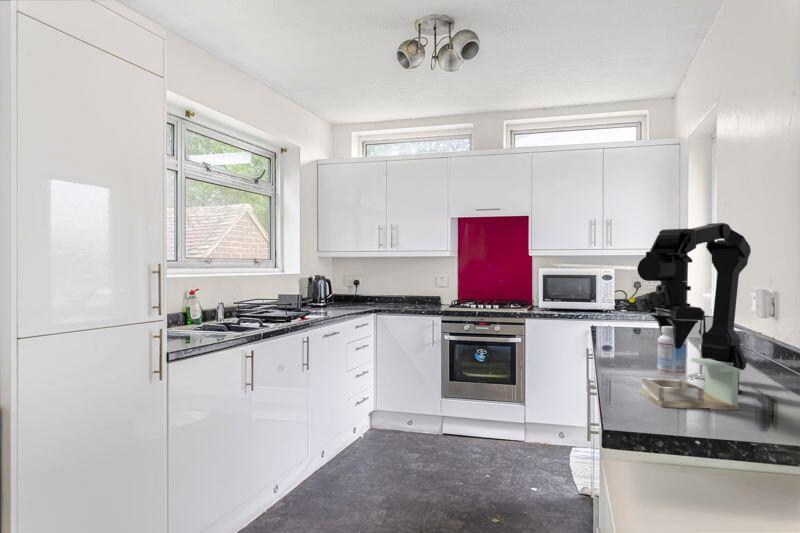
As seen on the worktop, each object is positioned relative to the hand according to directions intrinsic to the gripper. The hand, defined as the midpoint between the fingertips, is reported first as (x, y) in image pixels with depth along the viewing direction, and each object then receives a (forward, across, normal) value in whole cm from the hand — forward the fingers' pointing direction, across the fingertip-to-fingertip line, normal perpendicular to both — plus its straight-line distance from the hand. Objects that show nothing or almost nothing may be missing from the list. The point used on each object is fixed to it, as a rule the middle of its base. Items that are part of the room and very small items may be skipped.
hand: (671, 346), depth 127 cm
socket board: (+13, 0, +4) cm, 13 cm away
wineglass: (+13, -30, +21) cm, 39 cm away
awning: (+13, 0, +10) cm, 16 cm away
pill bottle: (+7, 0, 0) cm, 7 cm away
